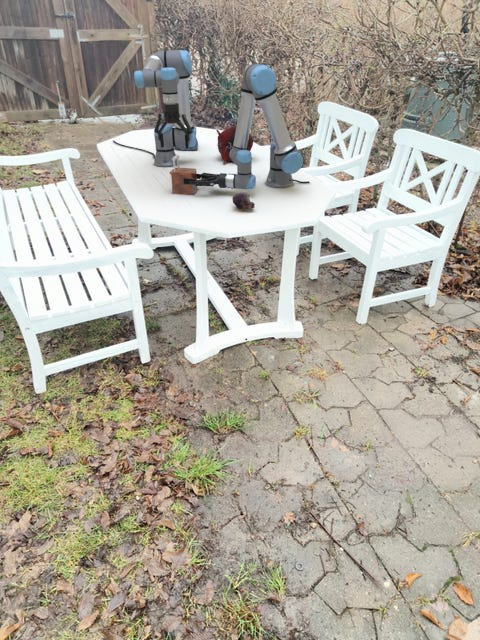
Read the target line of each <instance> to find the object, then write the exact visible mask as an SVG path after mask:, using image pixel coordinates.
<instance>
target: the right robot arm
mask: <svg viewBox="0 0 480 640" xmlns="http://www.w3.org/2000/svg"><path fill="white" fill-rule="evenodd" d="M278 92H279V91H278V87H277V76H276V73H275V72H274V70H273V69H272V68H271V67H270V66H268V65H265V64H261V63H258V62H256V63H251V64H250V65H248V66H247V67H246V68H245V70H244V71H243V75H242V80H241V86H240V93H241V98H240V105H239V110H238V115H237V122H236V125H235V127H236V132H235V138H234V144H233V148H232V149H231V151H230V158H231V160H232V161H231V162H232V163H234V165H236V168H237V169H236V173H223V172H220V173H209V172H203V173H197V180H196V179H184V184H192V185H195V186H197V187H214V186H216V185H218V187H219V188H220V189H231V190H234V189H237V190H254V189H255V188H256V184H257V183H256V182H257V180H256V179H257V177H256V175H255V174H253V173H252V168H253V167H252V165H253V164H252V161H253V156H252V152H251V151H248V150H247V144H248V139H249V134H250V133H251V128H252V124H253V123H252V122H253V117H254V113H255V107H256V102H257V103H259V106H260V108H261V110H262V113H263V116H264V119H265V122H266V124H267V127H268V130H269V132H270V136H271V139H272V141H273V142H271V143H270V146H269V171H268V174H267V176H266V180H265V184H266V186H268V187H272V188H278V189H279V188H289V187H291V186H293V184H294V183H293V182H295V183H299V184H310V181H308V180H307V181H301V180H297V179H293V176H292V175H294V174H296V173H298V172H299V171H300V170H301V168H302V166H303V164H304V158H303V156H302V154H301V153H300V152H299V150H298V147H297V145H296V142H295V141H293V140H292V139H291V136H290V132H289V130H288V127H287V123H286V121H285V118H284V114H283V112H282V108H281V106H280V102H279V100H278V97H277V93H278ZM250 135H251V134H250Z"/></svg>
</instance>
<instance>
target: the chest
mask: <svg viewBox="0 0 480 640" xmlns="http://www.w3.org/2000/svg"><path fill="white" fill-rule="evenodd" d="M197 174H198V172H197V170H196V171H195V172H194V173H193V174H192V175H177V174H170V178H171V179H170V180H171V191H172V194H174V195H175V194H177V195H191V196H194V194H195V193H196V192H197V191H198V190H199V189H198V188H199V186H195V185H192V184H184V179H196V180H198V179H197Z"/></svg>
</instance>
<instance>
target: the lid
mask: <svg viewBox="0 0 480 640" xmlns="http://www.w3.org/2000/svg"><path fill="white" fill-rule="evenodd" d="M179 157H180V154H178V153H176V156H174V157H173V158H172V160H173V166H172V167H173V169H171V170H170V171H169V175H171V174H177V175H192V174H193V173H194V172H195V171H197V168H195V167H194V168H193V167H180V160H179ZM176 159H177V165H175V160H176ZM176 166H177V167H176Z"/></svg>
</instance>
